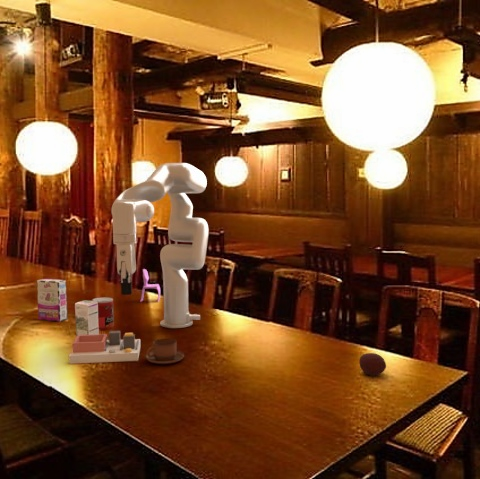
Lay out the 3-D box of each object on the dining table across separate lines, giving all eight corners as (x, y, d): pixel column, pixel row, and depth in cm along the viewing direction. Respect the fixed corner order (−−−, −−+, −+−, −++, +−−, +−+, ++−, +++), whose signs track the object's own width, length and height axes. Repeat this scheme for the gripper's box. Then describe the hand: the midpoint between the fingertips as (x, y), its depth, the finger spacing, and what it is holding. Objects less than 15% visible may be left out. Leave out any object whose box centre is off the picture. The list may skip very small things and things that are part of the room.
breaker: (120, 342, 193) (120, 330, 193) (119, 344, 190) (119, 332, 190) (110, 342, 193) (109, 331, 193) (109, 345, 190) (108, 333, 190)
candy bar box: (68, 319, 237) (66, 279, 235) (60, 322, 232) (58, 281, 231) (46, 317, 241) (44, 278, 240) (37, 319, 237) (36, 280, 235)
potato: (381, 369, 173) (381, 349, 172) (389, 378, 164) (389, 357, 164) (356, 369, 172) (357, 349, 172) (363, 379, 164) (364, 358, 163)
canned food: (109, 330, 219) (108, 301, 218) (89, 329, 221) (88, 301, 220) (117, 325, 227) (116, 297, 225) (98, 324, 228) (97, 297, 227)
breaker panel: (140, 346, 198) (140, 330, 197) (137, 360, 182) (137, 343, 181) (77, 348, 195) (76, 332, 195) (69, 363, 180) (68, 346, 179)
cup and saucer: (167, 369, 174) (167, 349, 173) (137, 362, 180) (137, 343, 180) (191, 359, 184) (191, 340, 183) (162, 353, 190) (162, 334, 190)
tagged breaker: (134, 346, 189) (134, 332, 188) (134, 348, 186) (134, 334, 186) (124, 346, 189) (123, 332, 188) (123, 349, 186) (123, 335, 185)
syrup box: (99, 341, 204) (98, 300, 203) (88, 345, 199) (87, 304, 197) (86, 339, 206) (85, 299, 205) (75, 344, 201) (74, 302, 200)
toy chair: (158, 302, 268) (157, 270, 267) (139, 302, 268) (138, 270, 267) (161, 298, 276) (160, 267, 275) (142, 299, 276) (141, 267, 275)
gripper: (133, 241, 182) (135, 298, 184) (139, 236, 197) (140, 289, 199) (109, 241, 182) (111, 299, 184) (117, 236, 196) (118, 290, 198)
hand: (126, 294), depth 191 cm, fingers closed
